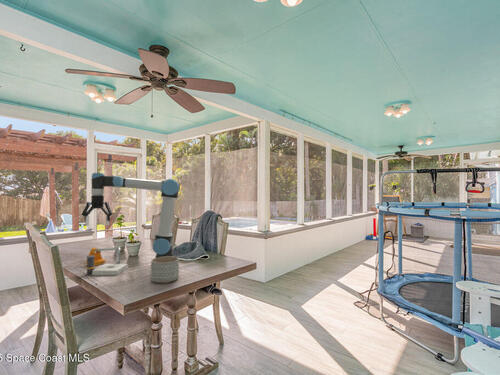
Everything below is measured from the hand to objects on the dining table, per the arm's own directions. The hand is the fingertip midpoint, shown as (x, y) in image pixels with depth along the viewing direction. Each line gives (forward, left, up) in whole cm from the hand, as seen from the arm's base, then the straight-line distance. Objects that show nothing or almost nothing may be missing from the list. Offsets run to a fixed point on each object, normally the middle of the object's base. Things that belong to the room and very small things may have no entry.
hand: (97, 225), depth 183 cm
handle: (-5, -6, -31) cm, 32 cm away
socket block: (-11, +2, -31) cm, 33 cm away
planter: (-53, +19, -31) cm, 64 cm away
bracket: (+9, -16, -31) cm, 36 cm away
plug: (0, +7, -31) cm, 32 cm away
